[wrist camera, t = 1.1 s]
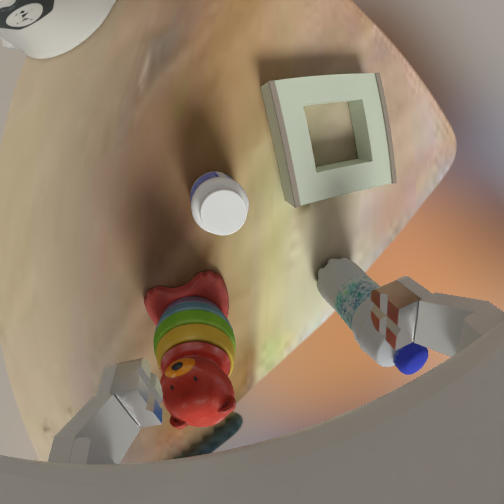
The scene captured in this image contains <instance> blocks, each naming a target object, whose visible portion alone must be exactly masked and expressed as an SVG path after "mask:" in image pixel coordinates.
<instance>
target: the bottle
mask: <svg viewBox="0 0 504 504" xmlns="http://www.w3.org/2000/svg"><path fill="white" fill-rule="evenodd" d="M379 287H380V286H379V285H378V284H377V283H376V282H374V281H373V280H372V279H371V278H369V277H368V276H367V275H366V273H365V272H364V271H363V270H362V269H361V268H360V267H359V266H358V265H356V264H355V263H354V262H352V261H351V260H349V259H347V258H341V259H334V258H333V259H330V260H328V264H327V265H326V266H325V267H324V268H320V269H319V271H318V281H317V288H318V290H319V292H320V294H321V295H322V297H323V298H324V299H325V300H326V301H327V302H328V303H329V304H330V305H331V306H332V307H333V308H334V309H335V310H336V311H337V313H338V314H339V315H340V316H341V318H342V319H343V320H344V321H345V323H346V324H347V325H348V326H349V328H350V329H351V330H352V331H353V333H354V337H355V340H356V341H357V342H358V343H359V345H360V347H361V349H362V350H363V351H364V352H366V353H367V354H368V355H369V356H370V357H372V358H373V359H374V360H375V361H376V362H377V363H378V364H379V365H381V366H384V367H390V366H394V365H395V366H396V367H397V368H398V369H399V370H400V371H401V372H402V373H404V374H408V375H409V374H413V373H415V372H417V371H418V370H419V369H421V368H422V366H423V365H424V364H425V362H426V360H427V358H428V350H427V348H426V347H424V346H421V345H419V344H416V343H414V342H412V343H410V344H408V345H406V346H404V347H402V348H400V349H397V350H394V349H393V348H392V347H391V345H390V344H389V343H388V342H387V341H386V335H384V334H380V333H379V332H378V331H377V330H376V329H375V327H374V325H373V323H372V319H371V309H372V307H373V305H374V303H373V302H372V301H371V292H372V290H373V289H376V288H379Z"/></svg>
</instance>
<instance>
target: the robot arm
mask: <svg viewBox="0 0 504 504" xmlns="http://www.w3.org/2000/svg"><path fill="white" fill-rule="evenodd" d="M116 1H117V0H0V38H2V45H3V46H5V47H6V48H10V49H16V48H17V49H19V50H21V51H22V52H23V53H25V54H26V55H27V56H29V57H32V58H37V59H45V58H51V57H55V56H58V55H60V54H63V53H65V52H67V51H69V50H71V49H73V48H74V47H76V46H77V45H79V44H80V43H82V42H83V41H84V40H85V39H87V38H88V37H89V36H90V35H91V34H92V33H93V32H94V31H95V30H96V29H97V28H98V27H99V26H100V25H101V23H102V22H103V21H104V20H105V18H106V17H107V15H108V13H109V12H110V10H111V8H112V6H113V5H114V3H115V2H116ZM371 301H372V302H373V303H374V305H373V307H372V309H371V319H372V323H373V325H374V327H375V329H376V330H377V331H378V332H379V333H380V334H384V335H386V341H387V342H388V343H389V344H390V345H391V347H392V348H393V349H394V350H397V349H400V348H402V347H404V346H406V345H408V344H410V343H412V342H414V343H416V344H419V345H421V346H424V347H426V348H429V349H432V350H435V351H437V352H440V353H442V354H445V355H448V356H450V357H451V358H449V359H448V360H446V361H445V362H443V363H441V364H440V365H438V366H437V367H435V368H433V369H432V370H430V371H428V372H427V373H425V374H423V375H421V376H420V377H418V378H416V379H414V380H413V381H411V382H409V383H407V384H405V385H403V386H402V387H400V388H398V389H396V390H394V391H392V392H390V393H388V394H386V395H384V396H382V397H380V398H378V399H376V400H374V401H371V402H369V403H367V404H365V405H363V406H361V407H358V408H356V409H354V410H352V411H349V412H347V413H344V414H342V415H339V416H337V417H334V418H332V419H329V420H327V421H324V422H321V423H319V424H316V425H313V426H310V427H307V428H305V429H302V430H299V431H296V432H293V433H289V434H287V435H283V436H280V437H277V438H273V439H270V440H266V441H263V442H259V443H255V444H251V445H247V446H243V447H239V448H235V449H230V450H226V451H221V452H216V453H210V454H205V455H199V456H193V457H187V458H180V459H172V460H164V461H154V462H143V463H128V464H119V463H120V462H121V460H122V458H123V457H124V455H125V453H126V452H127V450H128V448H129V447H130V445H131V444H132V442H133V440H134V439H135V437H136V435H137V434H138V432H139V431H140V428H142V427H148V426H154V425H160V424H162V408H161V407H160V405H159V404H160V403H161V402H162V400H163V392H162V387H161V384H160V382H159V379H158V378H157V376H156V375H155V374H153V373H151V372H150V370H151V366H150V364H149V362H148V361H147V359H145V358H141V359H136V360H131V361H125V362H119V363H114V364H109V365H107V366H105V368H104V372H103V375H102V379H101V382H100V386H99V389H98V393H97V397H93V398H92V399H91V400H90V401H89V402H88V403H87V404H86V405H85V406H84V407H83V408H82V409H81V410H80V411H79V412H78V413H77V414H76V415H75V416H74V417H73V418H72V419H71V420H70V421H69V422H68V423H67V424H66V425H65V426H64V427H63V428H62V430H61V431H60V432H59V433H58V434H57V435H56V436H55V437H54V441H53V444H52V448H51V451H50V455H49V459H48V462H43V461H34V460H27V459H20V458H14V457H8V456H2V455H0V504H504V312H503V311H501V310H500V309H499V308H497V307H496V306H494V305H493V304H492V303H490V302H488V301H483V300H477V299H471V298H465V297H459V296H453V295H447V294H441V293H434V294H432V293H431V292H429V291H428V290H427V289H425V288H424V287H422V286H421V285H419V284H418V283H417V282H415V281H414V280H412V279H411V278H410V277H408V276H404V277H401V278H399V279H397V280H395V281H394V282H391V283H389V284H386V285H384V286H381V287H379V288H376V289H373V290H372V292H371Z"/></svg>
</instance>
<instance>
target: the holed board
mask: <svg viewBox="0 0 504 504" xmlns="http://www.w3.org/2000/svg"><path fill="white" fill-rule="evenodd" d="M261 91H262V96H263V100H264V104H265V108H266V113H267V117H268V121H269V126H270V130H271V135H272V139H273V144H274V148H275V153H276V158H277V162H278V167H279V172H280V177H281V182H282V187H283V192H284V197H285V201H287V202H288V203H290V204H291V205H293V206H294V207H300V206H301V205H305V204H308V203H312V202H316V201H320V200H324V199H328V198H332V197H336V196H340V195H344V194H348V193H352V192H356V191H361V190H365V189H369V188H373V187H377V186H382V185H386V184H390V183H397V181H396V170H395V161H394V152H393V144H392V137H391V130H390V124H389V118H388V112H387V106H386V101H385V96H384V91H383V86H382V81H381V77H380V73H361V74H335V75H320V76H308V77H299V78H290V79H282V80H272V81H268V82H267V83H265V84H264V85H263V86H261ZM338 102H348V105H349V110H350V115H351V120H352V125H353V131H354V137H355V143H356V149H357V156H358V159H353V160H348V161H343V162H338V163H333V164H328V165H323V166H318V167H315V161H314V156H313V150H312V145H311V140H310V135H309V130H308V125H307V120H306V116H305V111H304V107H305V106H312V105H320V104H329V103H338Z"/></svg>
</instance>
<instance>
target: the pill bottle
mask: <svg viewBox="0 0 504 504" xmlns="http://www.w3.org/2000/svg"><path fill="white" fill-rule="evenodd" d="M190 197H191V211H192V215H193V218H194V219H195V221H196V223H197V224H198V225H199V226H200V227H201V228H202V229H204V230H205V231H207V232H210V233H214V234H217V235H229V234H232V233H234V232H236V231H237V230H239V229H240V228H241V226H242V225H243V224H244V222H245V220H246V216H247V213H248V208H249V201H248V197H247V194H246V192H245V191H244V189H243V188H242V187H241V185H239V184H238V183H237V182H236V181H234V180H233V179H232V178H231V177H229V176H228V175H226V174H224V173H222V172H217V171H211V172H207V173H205V174H203V175H201V176H200V177H198V178H197V180H196V181H195V182H194V184H193V186H192V189H191V195H190Z"/></svg>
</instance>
